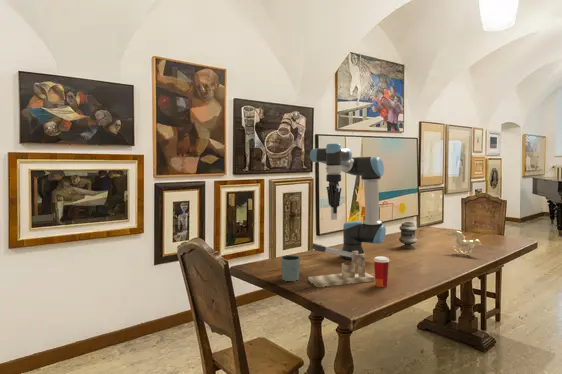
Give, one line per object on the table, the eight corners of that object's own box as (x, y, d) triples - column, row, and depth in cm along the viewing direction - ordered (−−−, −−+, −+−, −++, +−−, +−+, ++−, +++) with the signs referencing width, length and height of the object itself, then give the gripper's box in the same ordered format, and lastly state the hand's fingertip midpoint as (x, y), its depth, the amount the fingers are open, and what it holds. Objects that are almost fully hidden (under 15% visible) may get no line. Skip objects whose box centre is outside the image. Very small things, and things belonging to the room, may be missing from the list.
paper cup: (386, 283, 203) (386, 255, 203) (391, 287, 196) (391, 259, 195) (371, 283, 203) (371, 256, 202) (375, 288, 196) (375, 260, 195)
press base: (362, 274, 219) (362, 249, 218) (374, 280, 207) (374, 254, 206) (308, 280, 209) (308, 254, 208) (317, 287, 198) (317, 259, 197)
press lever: (357, 258, 213) (358, 253, 214) (362, 260, 208) (363, 255, 208) (311, 248, 205) (312, 243, 205) (315, 250, 200) (317, 245, 200)
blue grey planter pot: (289, 275, 218) (289, 254, 218) (304, 279, 212) (304, 256, 211) (277, 280, 211) (277, 257, 210) (292, 283, 204) (292, 260, 203)
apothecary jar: (399, 249, 281) (399, 223, 280) (399, 245, 292) (399, 221, 291) (417, 249, 277) (417, 224, 276) (416, 246, 289) (416, 221, 288)
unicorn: (482, 256, 255) (483, 230, 254) (480, 258, 253) (480, 231, 252) (451, 252, 269) (451, 227, 268) (448, 253, 267) (449, 227, 266)
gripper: (321, 173, 210) (322, 218, 212) (332, 174, 198) (333, 221, 199) (334, 173, 212) (335, 217, 214) (346, 174, 200) (346, 220, 202)
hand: (334, 219), depth 207 cm, fingers closed
